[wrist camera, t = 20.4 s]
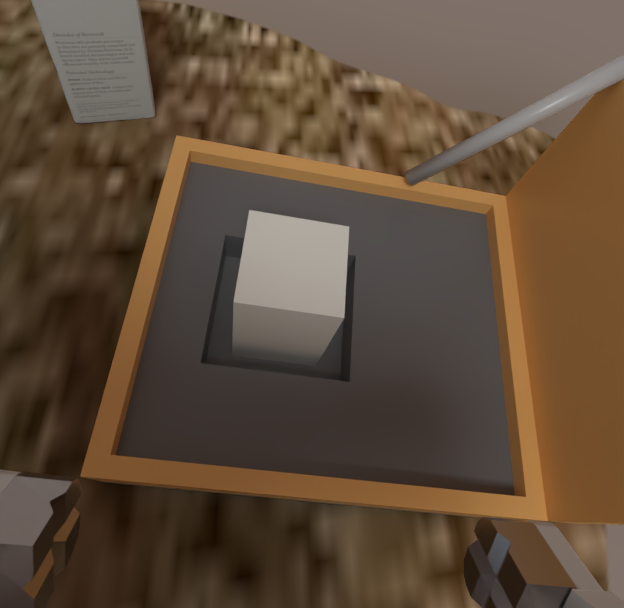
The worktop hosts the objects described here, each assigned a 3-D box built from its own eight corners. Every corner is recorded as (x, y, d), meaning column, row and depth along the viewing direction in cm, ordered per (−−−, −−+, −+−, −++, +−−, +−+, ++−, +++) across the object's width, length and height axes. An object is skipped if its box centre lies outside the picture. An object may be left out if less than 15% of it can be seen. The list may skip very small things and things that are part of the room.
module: (232, 355, 27) (233, 301, 20) (244, 277, 29) (249, 206, 22) (315, 366, 27) (344, 317, 20) (321, 289, 29) (349, 223, 23)
